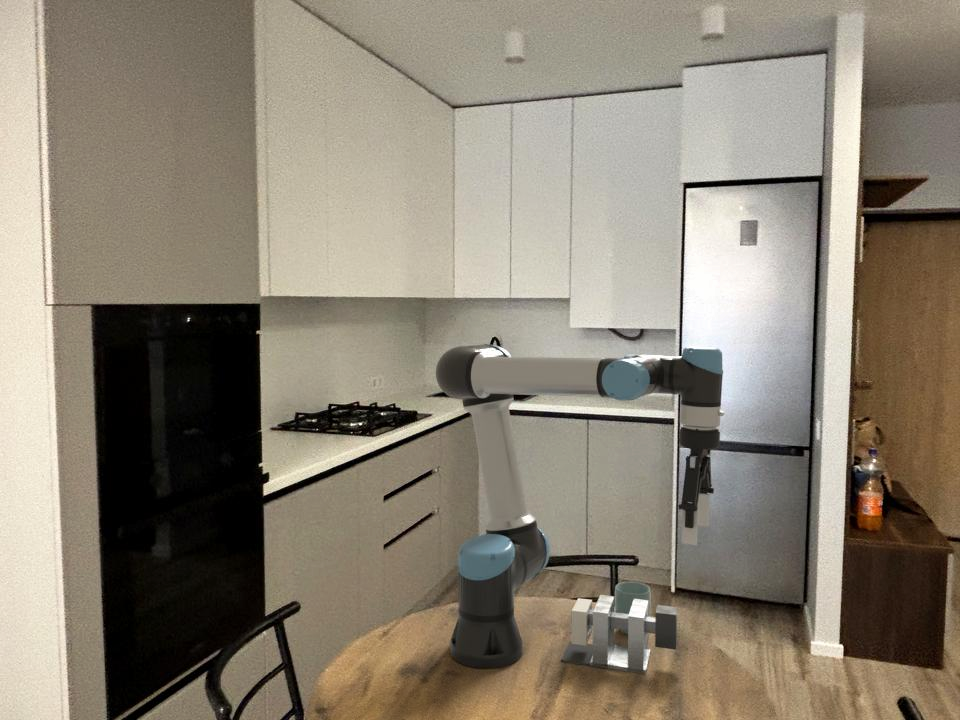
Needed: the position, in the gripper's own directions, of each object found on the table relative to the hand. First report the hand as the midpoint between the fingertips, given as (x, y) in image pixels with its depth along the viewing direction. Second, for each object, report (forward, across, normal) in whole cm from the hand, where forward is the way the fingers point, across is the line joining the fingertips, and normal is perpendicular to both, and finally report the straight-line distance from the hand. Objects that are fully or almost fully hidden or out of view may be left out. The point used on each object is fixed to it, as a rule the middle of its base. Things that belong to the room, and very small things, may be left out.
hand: (695, 534), depth 143 cm
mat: (+28, -3, +22) cm, 36 cm away
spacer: (+21, -3, +22) cm, 30 cm away
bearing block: (+28, -2, +14) cm, 31 cm away
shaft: (+23, -2, +13) cm, 27 cm away
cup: (+28, +13, +15) cm, 34 cm away
